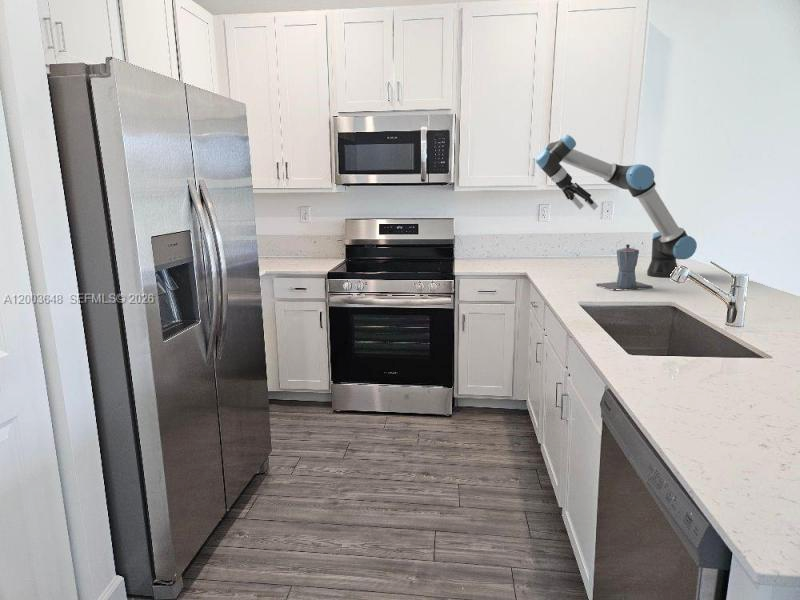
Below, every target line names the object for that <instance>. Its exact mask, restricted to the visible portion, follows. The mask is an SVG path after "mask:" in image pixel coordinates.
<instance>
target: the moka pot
mask: <svg viewBox="0 0 800 600" xmlns="http://www.w3.org/2000/svg"><path fill="white" fill-rule="evenodd" d="M630 246H631V245H630V244H626V245H625V247H624V248H619V249H617V250H616V258H617V259H616V260H617V266H618V273H617V279H616V282H617V284H616V286H617V287H620V288H634V287H636V282H637V279H636V267H637V264H638V258H639V253H640V250H639V249H637V248H632V247H630Z"/></svg>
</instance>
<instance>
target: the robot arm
mask: <svg viewBox="0 0 800 600" xmlns="http://www.w3.org/2000/svg"><path fill="white" fill-rule="evenodd" d="M576 145H577V142H576V140H575V139H574V138H573V136H571V135H569V134H564V135H563V136H562V137H561V138H560V139H559V140H556V141H553V142H550V143H548V144H547V145H546V146H545V148H544V150H542V151H541V152H540V153H538V155H537V157H536V158H535V162H536V164H537V165H538V166H539V169H541V170H542V171H543V172H544V173H545V174H546V176H548V177H549V179H550V181H552V182H553V183H554V184H555V185H556V186H557V187H558V188H559V189H561V191H562V192H563V194H564V196H565V198H566V200H570V201H571V202H572V203H573V204H574V205H575V207H577V208H578V210H581V209H582V208H583V207H584V204H583V203H582V202H581V201H580V200H579V199H578V198H577V196H579V197H581V199H583V200H584V202H585V203H586V204H587V205H588V206H589V207H590V208H591V209H592V210H593V211H595V210H596V209H597V208H598V207H599V206H598V204H597V203H596V202H595V201H594V199H592V194H590V193H589V192H588V191H586V189H584V188H582V186H580V185H579V184H578V182H574V183H573V182H572V181H573V177H572V176H571V174H569V172H568V171H567V170H566V169H565V168H564V167H563V166H562V164H561V162H562V163H565V164H567V165H570V166H572V167H574V168H576V169H580V170H582V171H584V172H587V173H589V174H591V175H594V176H597V177H600V178H602V179H603V180H604V182H606V183H608V184H611V185H612V186H615V187H617V188H620V189H622V190H627V191H629V193H630V194H631V196H632V198H636V199H637V200H638V201H639V203H640V204H641V206H642V208H643V209H644V210H645V212H646V214H647V215H648V217H649V218H650V221H651V222H652V223H653V225H654V226H655V228H656V230H657V231H658V232H654V233H653V235H652V243H651V247H652V248H651V261H650V264H649V266H648V268H647V270H646V275H647V276H651V277H656V278H670V277H669V276H670V274H671V273H672V271H673V270H674V269H675V267H678V264H677V260H688V259H690V258H691V257H693V255H694V254H695V253H696V250H697V246H698V243H697V241H696V239H695V238H694V237H692V236H689V235H688V234H687V232H686V230H685V228H683V227H679V226H678V224H677V222H676V221H675V219H674V218H673V215H672V214H671V213H670V211H669V209H668V208H667V206H666V205H665V203H664V201H663V200H662V198H661V197H660V194H659V193H658V192H657V189H656V185H657V184H656V182H655V172H654V171H653V169H652V168H651V167H650V166H648V165H646V164H641V163H639V164H638V163H637V164H634V165H621V164H617V163H615V162H613V163H609V162H607V161H604V160H601V159H599V158H597V157H594V156H591V155H589V154H586V153H584V152H581V151H579V150H576V149H574V148H575V147H577V146H576ZM576 195H577V196H576Z"/></svg>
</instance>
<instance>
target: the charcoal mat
mask: <svg viewBox="0 0 800 600" xmlns="http://www.w3.org/2000/svg"><path fill="white" fill-rule="evenodd" d="M616 284H617V281H614V282H602V283H601V282H599V283H596V284H595V285H598V286H597V287H599V286H602V287H605V288H604V289H606V288H609V289H613V290H616V289H633V290H639V289H638V288H646V289H653V285H650V284H647V283H642V282H639V281H636V287H634V288H620V287H617V286H616ZM602 287H601V288H602ZM609 289H608V290H609Z"/></svg>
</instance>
